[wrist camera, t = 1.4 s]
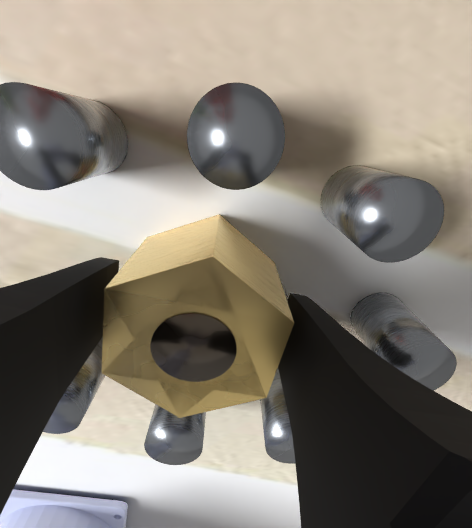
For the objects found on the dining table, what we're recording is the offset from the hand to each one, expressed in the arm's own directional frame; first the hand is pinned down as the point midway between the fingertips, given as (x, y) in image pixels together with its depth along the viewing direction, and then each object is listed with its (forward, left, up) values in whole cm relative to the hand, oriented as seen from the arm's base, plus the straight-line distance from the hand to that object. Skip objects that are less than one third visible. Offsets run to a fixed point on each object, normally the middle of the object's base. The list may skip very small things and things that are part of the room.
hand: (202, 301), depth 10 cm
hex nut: (0, 0, -2) cm, 2 cm away
